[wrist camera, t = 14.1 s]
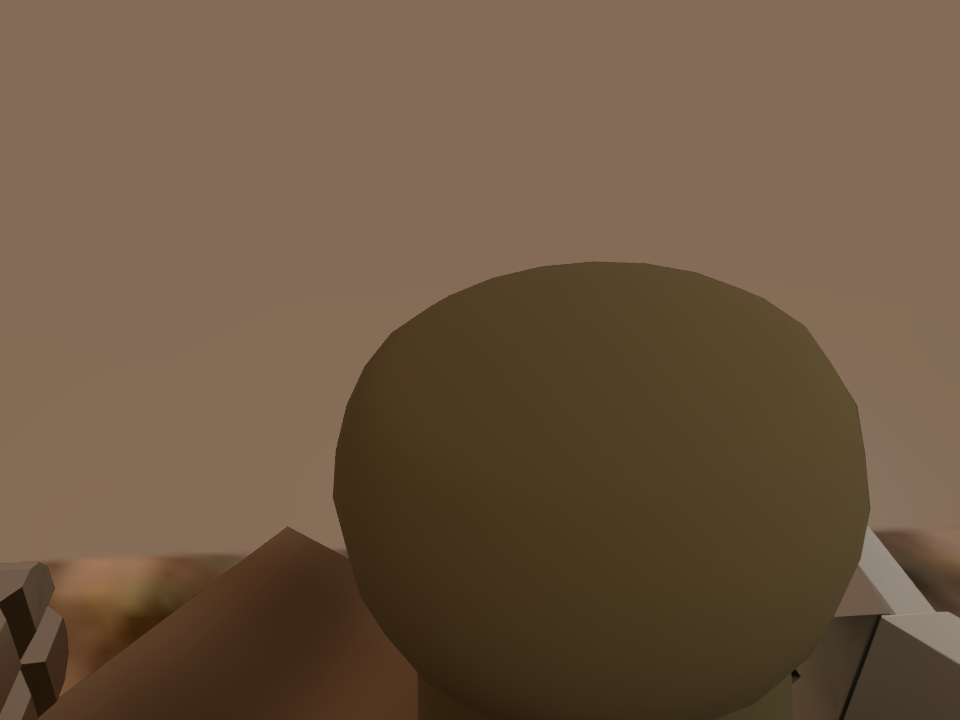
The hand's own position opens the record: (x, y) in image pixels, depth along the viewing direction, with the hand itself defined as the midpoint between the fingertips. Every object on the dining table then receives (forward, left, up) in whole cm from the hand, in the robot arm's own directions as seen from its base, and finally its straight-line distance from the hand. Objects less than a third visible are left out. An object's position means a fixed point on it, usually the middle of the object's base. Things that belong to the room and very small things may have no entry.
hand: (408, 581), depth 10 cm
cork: (-3, -1, -7) cm, 8 cm away
